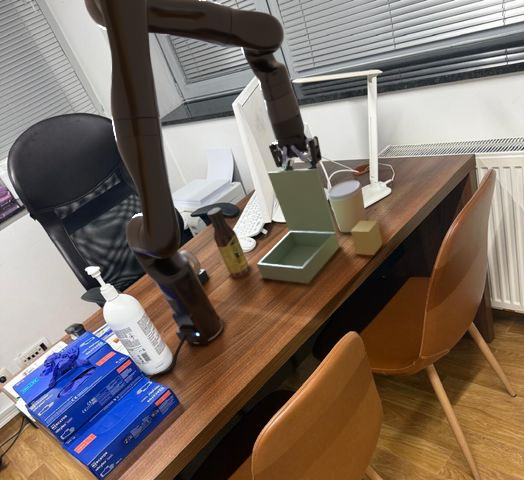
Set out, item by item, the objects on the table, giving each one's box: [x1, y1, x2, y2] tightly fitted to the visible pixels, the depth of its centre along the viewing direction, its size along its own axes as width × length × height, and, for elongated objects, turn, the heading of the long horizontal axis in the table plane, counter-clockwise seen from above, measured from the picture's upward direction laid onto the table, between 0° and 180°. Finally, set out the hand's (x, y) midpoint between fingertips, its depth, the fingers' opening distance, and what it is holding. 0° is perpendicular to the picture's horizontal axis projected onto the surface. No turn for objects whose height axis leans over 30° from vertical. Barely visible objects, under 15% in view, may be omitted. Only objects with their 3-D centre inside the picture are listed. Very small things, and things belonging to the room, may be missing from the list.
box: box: [256, 230, 340, 284], centre depth 123 cm, size 17×16×5 cm
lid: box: [267, 167, 337, 232], centre depth 121 cm, size 17×16×5 cm
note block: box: [350, 220, 383, 256], centre depth 116 cm, size 5×5×8 cm
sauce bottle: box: [207, 207, 250, 278], centre depth 127 cm, size 7×6×20 cm
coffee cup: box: [327, 179, 367, 233], centre depth 126 cm, size 9×9×12 cm
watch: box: [178, 249, 210, 286], centre depth 134 cm, size 6×8×11 cm
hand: (303, 180), depth 118 cm, fingers open, 6 cm apart
